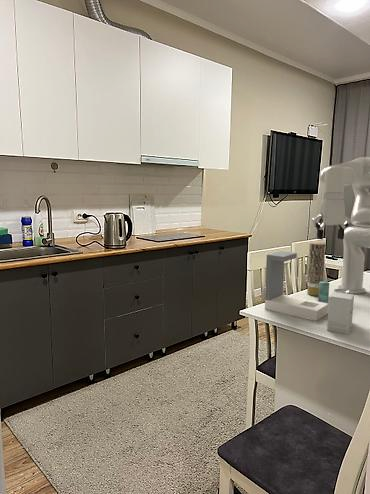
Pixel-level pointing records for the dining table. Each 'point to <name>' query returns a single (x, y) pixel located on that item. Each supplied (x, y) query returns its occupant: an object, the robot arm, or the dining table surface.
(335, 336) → the dining table surface
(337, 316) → the supplement box
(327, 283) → the peg
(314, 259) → the paper tube
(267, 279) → the socket block
